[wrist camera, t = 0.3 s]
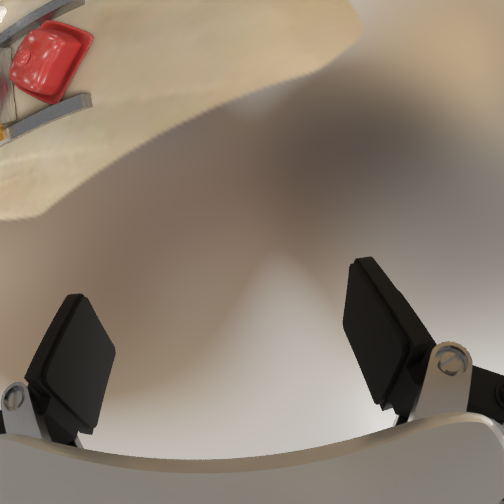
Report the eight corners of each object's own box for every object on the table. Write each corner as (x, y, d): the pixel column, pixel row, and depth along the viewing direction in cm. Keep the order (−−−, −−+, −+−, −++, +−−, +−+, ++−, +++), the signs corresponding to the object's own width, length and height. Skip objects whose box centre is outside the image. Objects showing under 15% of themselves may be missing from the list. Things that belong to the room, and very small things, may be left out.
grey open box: (-36, 71, 20) (-57, 74, 14) (84, -6, 20) (65, -17, 15) (-26, 162, 29) (-46, 173, 24) (92, 106, 30) (71, 109, 25)
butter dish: (49, 18, 21) (17, 9, 14) (100, 37, 25) (71, 26, 18) (15, 84, 25) (-19, 88, 18) (61, 108, 29) (28, 114, 22)
